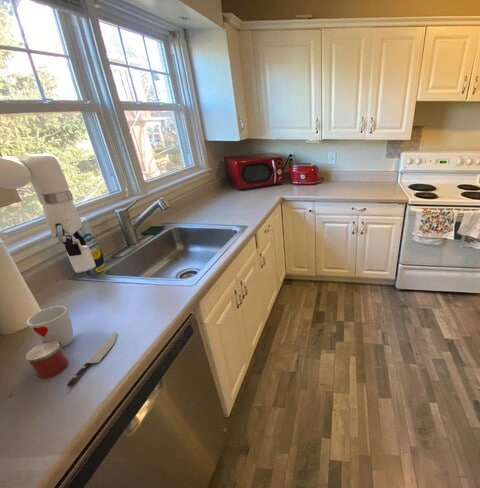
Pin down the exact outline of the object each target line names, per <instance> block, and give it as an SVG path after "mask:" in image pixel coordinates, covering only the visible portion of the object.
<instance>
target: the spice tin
mask: <svg viewBox="0 0 480 488" xmlns="http://www.w3.org/2000/svg"><path fill="white" fill-rule="evenodd" d="M25 360H27V361H28V362H29V365H31V367H32V369H33V370H34V372H35V373H36V374H37V376H38V378H40V379H49V378H52V377H54V376H56V375H58V374H60V373H62V372H63V371H64V370H65V369H66V368H67V367H68V366H69V359H68V357H67V356H66V354H65V353H64V351H63V348H62V347H60V344H59V342H57V341H48V342H45V343H43V342H42V343H40V344H38V345H35V346H34V347H32V348H31V349H30V350H29V351H28V352H27V353H26V355H25Z"/></svg>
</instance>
